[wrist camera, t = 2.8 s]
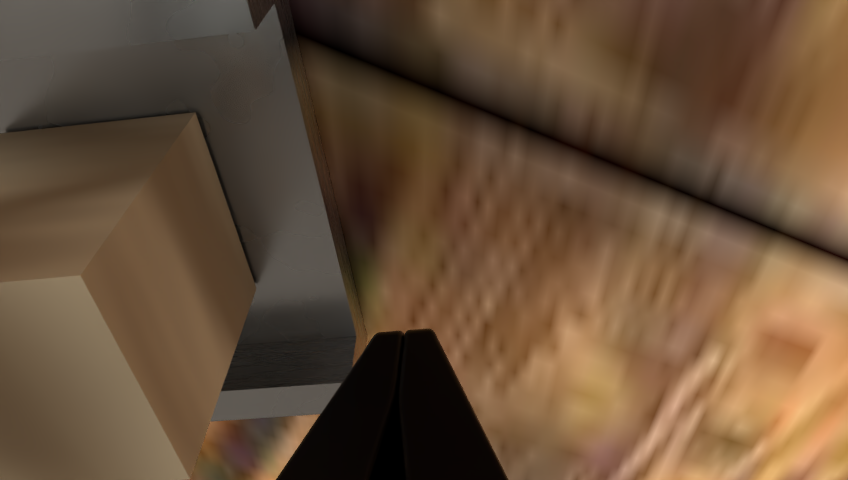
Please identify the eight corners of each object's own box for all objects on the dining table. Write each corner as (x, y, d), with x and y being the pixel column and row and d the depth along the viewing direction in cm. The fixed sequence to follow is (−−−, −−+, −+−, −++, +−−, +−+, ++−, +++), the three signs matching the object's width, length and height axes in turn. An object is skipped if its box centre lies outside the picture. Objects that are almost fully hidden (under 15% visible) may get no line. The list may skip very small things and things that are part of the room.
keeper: (195, 112, 13) (80, 275, 9) (256, 288, 15) (190, 478, 11) (-1, 133, 13) (-201, 300, 9) (90, 302, 15) (-33, 492, 11)
